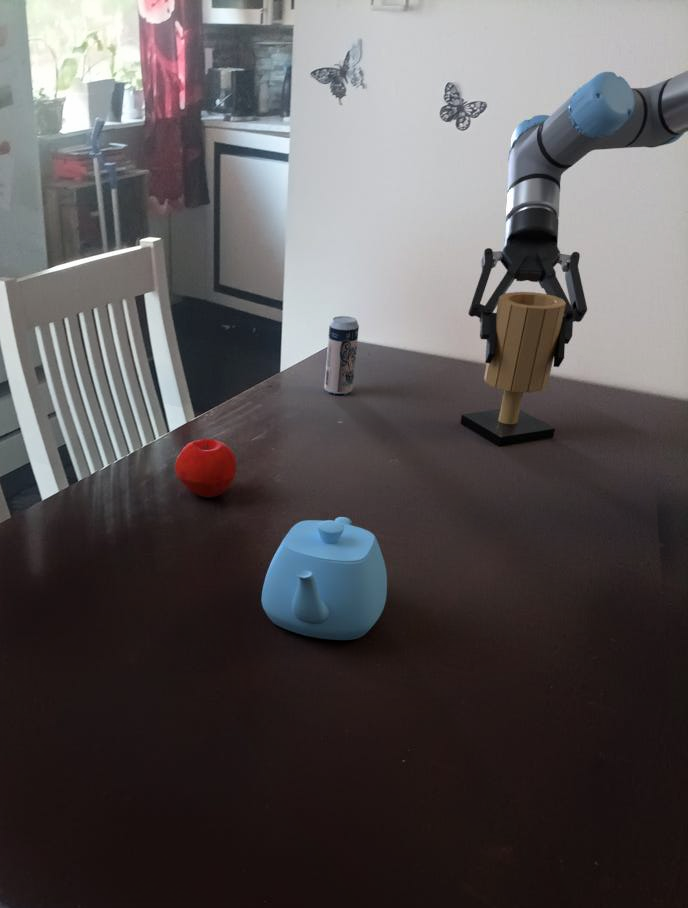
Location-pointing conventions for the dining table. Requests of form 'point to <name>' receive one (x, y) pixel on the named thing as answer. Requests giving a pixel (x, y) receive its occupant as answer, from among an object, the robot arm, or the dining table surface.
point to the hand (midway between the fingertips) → (524, 360)
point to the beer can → (341, 355)
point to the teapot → (326, 580)
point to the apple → (206, 467)
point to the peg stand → (507, 423)
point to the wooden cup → (525, 341)
